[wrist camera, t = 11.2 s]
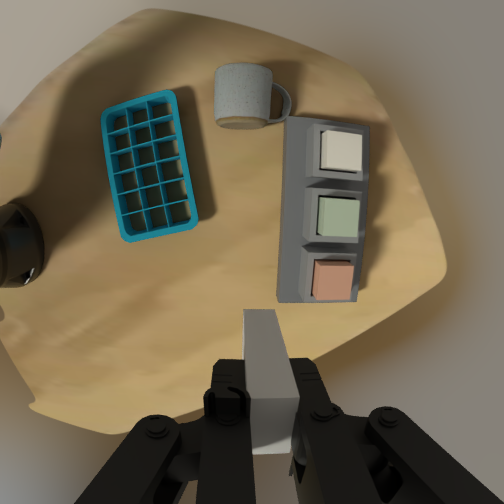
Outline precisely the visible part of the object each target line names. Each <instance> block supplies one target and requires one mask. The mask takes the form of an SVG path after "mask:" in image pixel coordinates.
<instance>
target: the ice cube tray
mask: <svg viewBox="0 0 504 504" xmlns="http://www.w3.org/2000/svg"><path fill="white" fill-rule="evenodd" d="M164 103H170V104H171V108H172V114H171V115H167V116H163V117H159V118H156V119H154V118H153V111H152V107H153V106H157V105H161V104H164ZM143 109H147V113H148V120H149V121H145V122H142V123H139V124H136V125H134V120H133V113H134V112H137V111H140V110H143ZM124 115H127V123H128V127H126V128H123V129H120V130H117V131H114V121H115V120H116V119H117V118H118V117H121V116H124ZM100 120H101V129H102V137H103V144H104V151H105V158H106V164H107V170H108V176H109V182H110V187H111V193H112V198H113V203H114V207H115V212H116V217H117V221H118V226H119V230H120V234H121V237H122V238H123V240H124V241H126V242H129V243H131V242H136V241H140V240H145V239H149V238H154V237H158V236H163V235H167V234H172V233H177V232H181V231H186V230H191V229H193V228H194V227H195V226H196V225H197V223H198V220H199V218H198V213H197V208H196V203H195V198H194V193H193V188H192V183H191V178H190V173H189V168H188V163H187V157H186V152H185V146H184V141H183V135H182V129H181V123H180V117H179V111H178V105H177V99H176V96H175V94H174V93H173V91H171V90H163V91H159V92H156V93H152V94H149V95H146V96H142V97H139V98H136V99H133V100H130V101H127V102H124V103H121V104H118V105H115V106H112V107H109V108H107V109H105V110H104V112H103V113H102V115H101V119H100ZM172 120H174V126H175V132H176V134H175V135H171V136H167V137H164V138H160V139H157V137H156V131H155V125H157V124H160V123H164V122H168V121H172ZM146 127H150V133H151V139H152V141H149V142H145V143H142V144H139V145H137V141H136V134H135V131H136V130H139V129H143V128H146ZM127 133H129V137H130V143H131V147H129V148H125V149H122V150H119V151H117V146H116V140H115V137H117V136H120V135H123V134H127ZM176 139H177V143H178V149H179V154H180V155H179V156H175V157H171V158H167V159H163V160H160V155H159V149H158V144H160V143H164V142H168V141H172V140H176ZM149 146H153V151H154V157H155V162H152V163H148V164H144V165H140V159H139V153H138V150H139V149H142V148H146V147H149ZM129 152H132V156H133V162H134V168H130V169H127V170H124V171H120V165H119V159H118V156H119V155H122V154H126V153H129ZM179 159H180V160H181V165H182V171H183V176H184V177H182V178H177V179H173V180H169V181H165V182H164V177H163V171H162V166H161V164H163V163H167V162H171V161H175V160H179ZM155 165H156V168H157V174H158V179H159V183H157V184H153V185H149V186H144V181H143V176H142V170H141V169H144V168H148V167H151V166H155ZM133 171H135V173H136V179H137V184H138V189H134V190H130V191H127V192H124V188H123V182H122V177H121V175H123V174H126V173H130V172H133ZM180 180H184V181H185V186H186V191H187V196H188V199H185V200H180V201H176V202H172V203H169V202H168V197H167V192H166V187H165V184H167V183H171V182H175V181H180ZM159 185H160V189H161V194H162V199H163V205H159V206H155V207H151V208H149V206H148V201H147V197H146V192H145V189H147V188H151V187H155V186H159ZM136 191H139V194H140V199H141V204H142V210H138V211H135V212H131V213H129V212H128V208H127V203H126V198H125V194H128V193H132V192H136ZM187 200H188V201H189V206H190V211H191V219H190V220H186V221H181V222H176V223H173V221H172V216H171V212H170V207H169V204H174V203H178V202H182V201H187ZM161 206H164V209H165V213H166V218H167V223H168V224H167V225H163V226H158V227H154V228H153V225H152V220H151V216H150V211H149V209H152V208H157V207H161ZM140 211H143V213H144V218H145V223H146V227H147V229H145V230H141V231H136V230H134V229H133V228H132V226H131V221H130V217H129V214H132V213H136V212H140Z"/></svg>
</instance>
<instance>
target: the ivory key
mask: <svg viewBox="0 0 504 504" xmlns="http://www.w3.org/2000/svg"><path fill="white" fill-rule="evenodd" d="M361 165H362V135H358V134H352V133H345V132H337V131H329V130H327V131H325V132H324V133H322V134H320V165H319V169H322V170H333V171H343V172H354V171H361Z"/></svg>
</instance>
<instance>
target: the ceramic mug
mask: <svg viewBox="0 0 504 504" xmlns="http://www.w3.org/2000/svg"><path fill="white" fill-rule="evenodd" d="M272 79H273V74H272V71H271V70H270V69H268V68H266V67H264V66H261V65H258V64H252V63H231V64H226V65H223V66H221V67H219V68H217V69H216V71H215V101H214V115H215V121H216V123H217V125H218V126H220V127H223V128H228V129H259V128H263V127H264V126H266V125H267V123H276V122H280V121H283V120H284V119H285V118H286V117H287V116H288V115H289V114H290V111H291V105H292V102H291V97H290V95H289V93H288V92H287V91H286V90H285V89H284V88H283V87H282V86H281V85H279V84H277V83H274V82H272ZM272 88H274V89H276V90H277V91H278V92H279V93H280V94H281V95H282V97H283V100H284V103H283V110H282V112H281V114H282V115H281V117H280V118H278V119H269V116H270V100H271V90H272Z"/></svg>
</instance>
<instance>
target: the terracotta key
mask: <svg viewBox="0 0 504 504" xmlns="http://www.w3.org/2000/svg"><path fill="white" fill-rule="evenodd" d="M353 270H354V266H353V265H352V264H350V263H349V262H348V261H346V260H338V259H314V265H313V276H312V286H311V292H312V294H313V295H314V297H315V298H316V300H350V293H351V286H352V279H353Z"/></svg>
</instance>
